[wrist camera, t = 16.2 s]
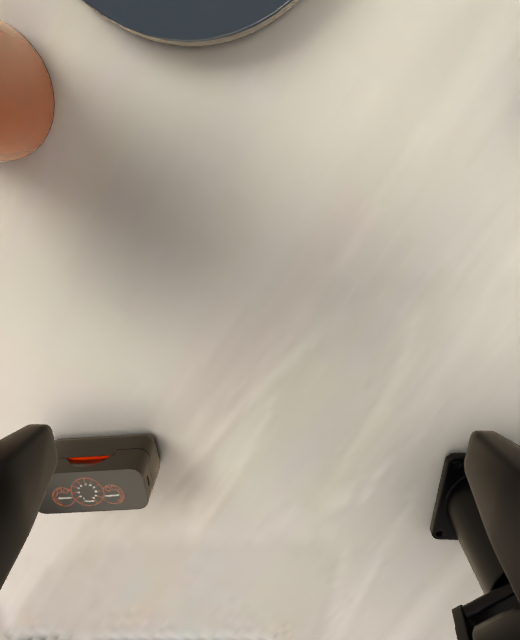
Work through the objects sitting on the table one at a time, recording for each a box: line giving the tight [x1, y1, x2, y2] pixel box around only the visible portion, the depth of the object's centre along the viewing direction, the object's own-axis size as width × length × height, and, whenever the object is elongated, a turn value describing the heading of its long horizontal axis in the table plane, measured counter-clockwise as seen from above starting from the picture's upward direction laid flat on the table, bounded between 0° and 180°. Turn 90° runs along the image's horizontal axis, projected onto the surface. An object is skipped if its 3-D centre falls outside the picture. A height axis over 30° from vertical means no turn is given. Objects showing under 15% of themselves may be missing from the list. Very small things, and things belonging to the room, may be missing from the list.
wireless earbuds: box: [38, 434, 160, 514], centre depth 24 cm, size 5×7×3 cm, turn 95°
